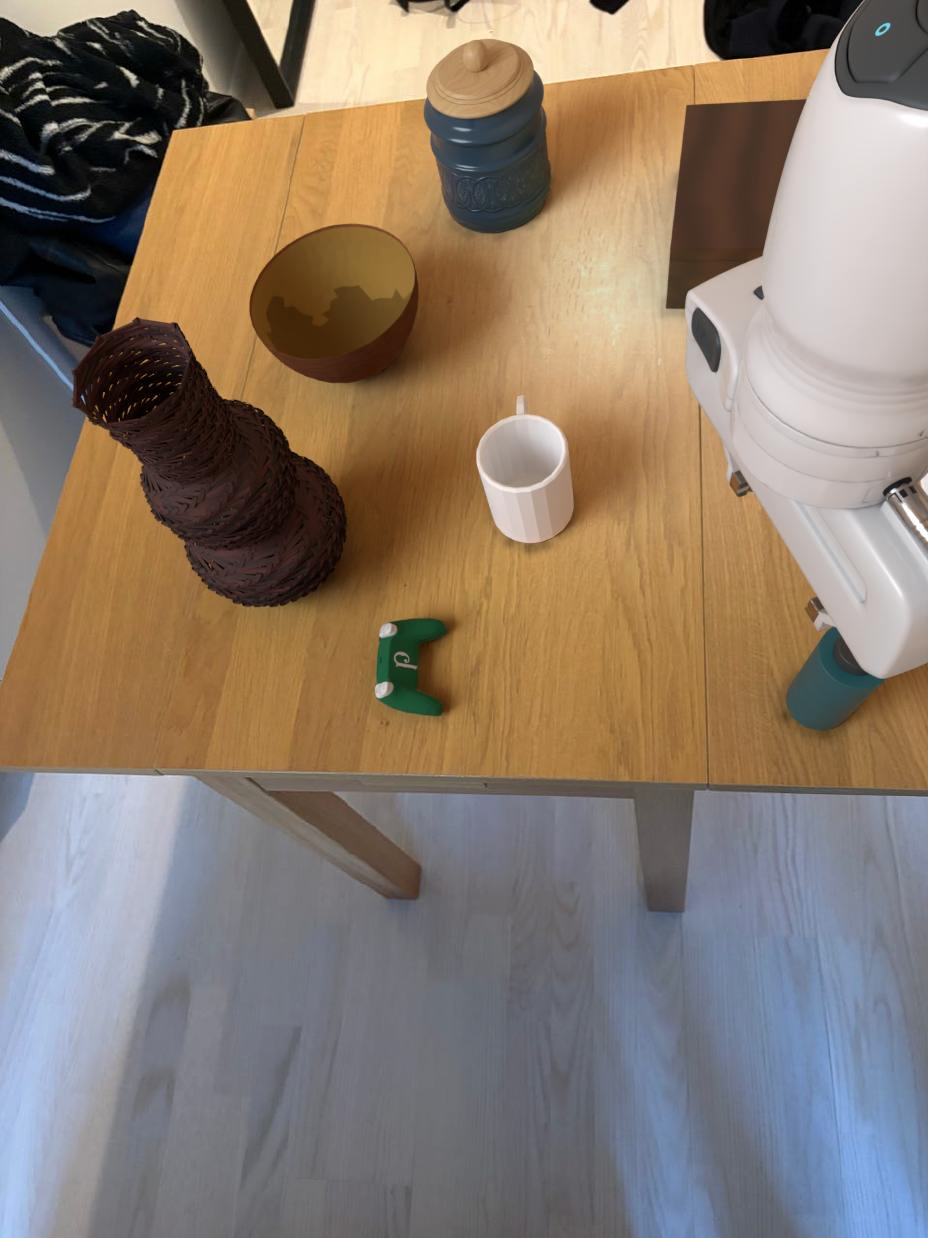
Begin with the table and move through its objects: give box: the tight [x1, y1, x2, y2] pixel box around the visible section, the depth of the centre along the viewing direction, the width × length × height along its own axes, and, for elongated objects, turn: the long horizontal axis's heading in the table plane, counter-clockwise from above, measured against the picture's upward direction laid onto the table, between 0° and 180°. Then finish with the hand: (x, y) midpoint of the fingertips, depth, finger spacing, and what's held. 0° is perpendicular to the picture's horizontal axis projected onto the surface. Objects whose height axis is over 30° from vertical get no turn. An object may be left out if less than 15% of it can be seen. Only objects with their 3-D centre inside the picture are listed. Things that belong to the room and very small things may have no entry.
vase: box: [70, 316, 348, 608], centre depth 67 cm, size 15×15×30 cm
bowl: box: [248, 223, 420, 384], centre depth 85 cm, size 18×18×10 cm
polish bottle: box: [785, 627, 888, 731], centre depth 60 cm, size 5×5×14 cm
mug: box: [475, 394, 575, 544], centre depth 74 cm, size 8×12×10 cm
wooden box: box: [665, 98, 807, 310], centre depth 82 cm, size 14×20×8 cm
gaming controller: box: [374, 617, 448, 717], centre depth 72 cm, size 9×4×6 cm
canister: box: [423, 38, 552, 234], centre depth 87 cm, size 13×13×18 cm
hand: (782, 547), depth 46 cm, fingers open, 8 cm apart
